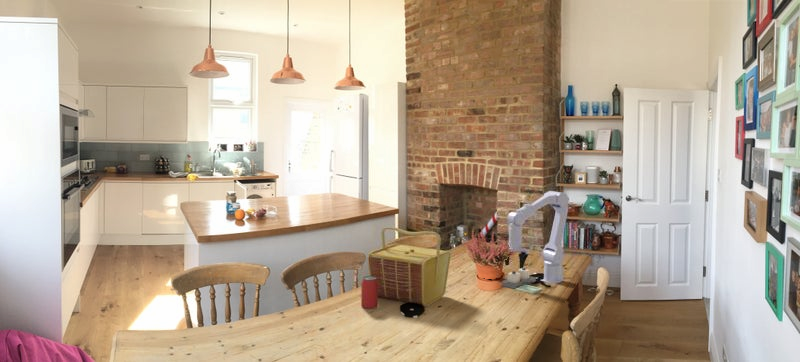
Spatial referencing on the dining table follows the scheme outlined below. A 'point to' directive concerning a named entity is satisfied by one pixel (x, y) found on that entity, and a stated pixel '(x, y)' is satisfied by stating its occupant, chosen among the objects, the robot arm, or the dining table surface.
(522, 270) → the pull-out knob drawer
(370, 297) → the beer can
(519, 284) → the small drawer cabinet
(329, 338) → the dining table surface
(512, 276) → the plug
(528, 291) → the tray
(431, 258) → the picnic basket
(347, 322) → the dining table surface
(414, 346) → the dining table surface
